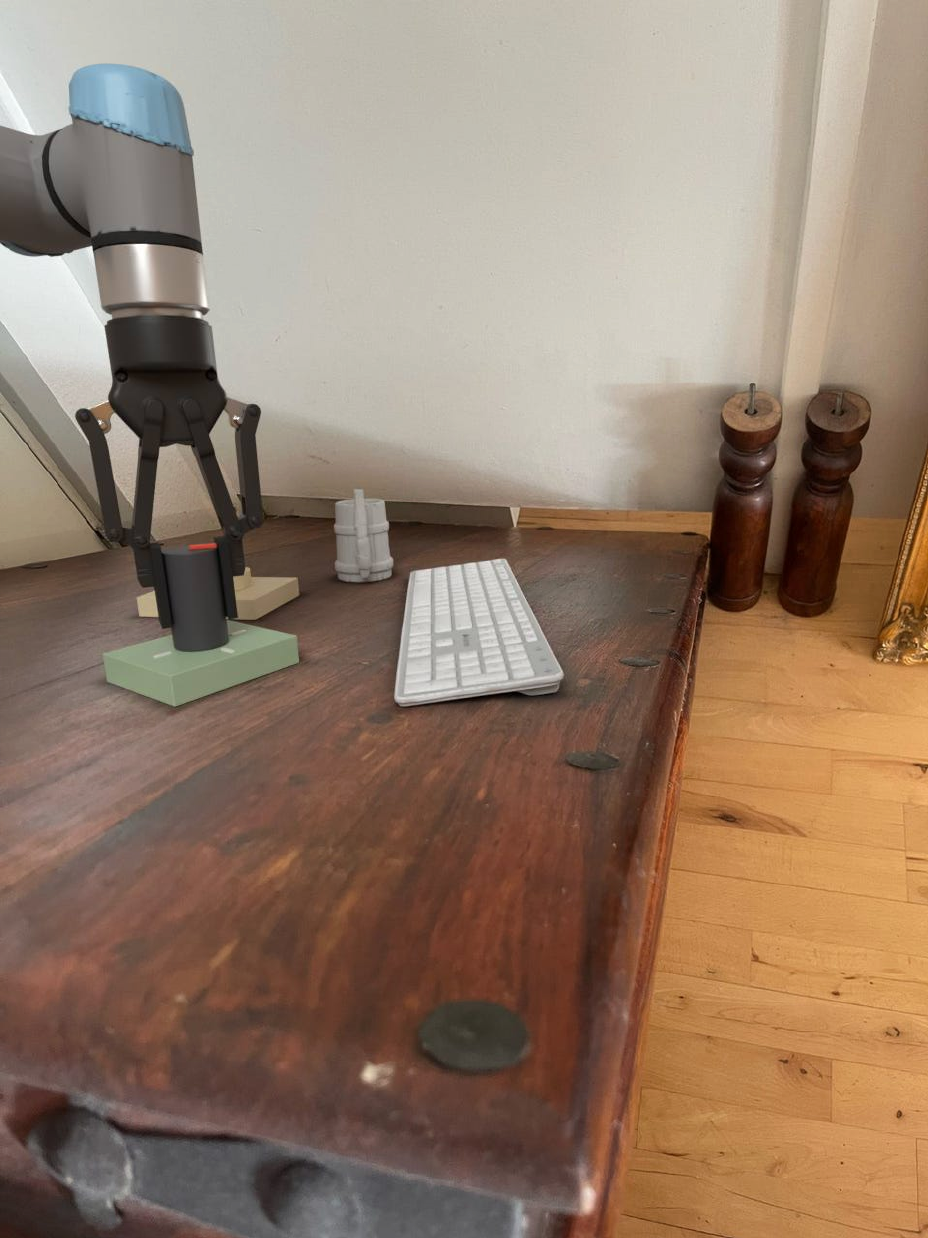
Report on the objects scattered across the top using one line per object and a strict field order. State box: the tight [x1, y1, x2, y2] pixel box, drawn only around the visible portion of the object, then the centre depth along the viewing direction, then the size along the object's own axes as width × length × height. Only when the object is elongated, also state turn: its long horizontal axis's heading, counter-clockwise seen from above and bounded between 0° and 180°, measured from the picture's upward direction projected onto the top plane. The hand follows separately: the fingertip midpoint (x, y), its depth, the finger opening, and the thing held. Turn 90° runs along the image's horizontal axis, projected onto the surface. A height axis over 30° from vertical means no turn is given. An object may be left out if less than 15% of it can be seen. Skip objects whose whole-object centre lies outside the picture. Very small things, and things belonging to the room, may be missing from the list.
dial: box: [161, 542, 229, 651], centre depth 61 cm, size 4×4×8 cm
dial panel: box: [102, 619, 300, 708], centre depth 63 cm, size 10×12×3 cm
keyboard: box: [393, 558, 565, 707], centre depth 75 cm, size 44×12×2 cm, turn 2°
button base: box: [136, 566, 300, 621], centre depth 85 cm, size 14×11×4 cm
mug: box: [333, 488, 394, 583], centre depth 95 cm, size 8×12×12 cm, turn 8°
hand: (198, 619), depth 62 cm, fingers closed on dial, 4 cm apart
